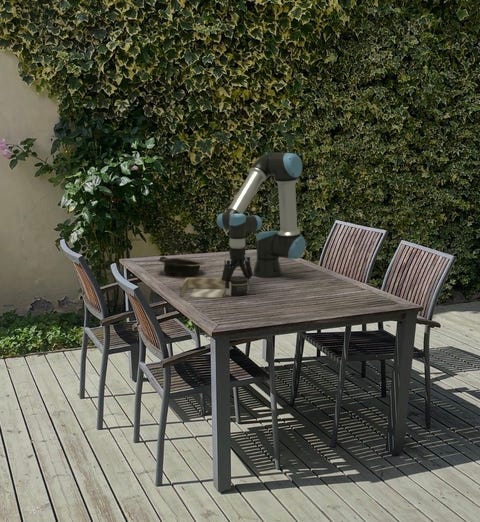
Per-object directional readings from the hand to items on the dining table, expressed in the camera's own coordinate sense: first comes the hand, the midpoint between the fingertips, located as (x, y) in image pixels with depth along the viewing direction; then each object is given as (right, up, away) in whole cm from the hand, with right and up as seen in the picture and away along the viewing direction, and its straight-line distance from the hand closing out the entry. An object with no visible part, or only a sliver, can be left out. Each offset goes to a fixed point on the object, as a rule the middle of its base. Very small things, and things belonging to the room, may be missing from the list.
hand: (237, 293), depth 351 cm
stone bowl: (-29, +8, +44) cm, 53 cm away
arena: (-14, 0, +2) cm, 15 cm away
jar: (0, 0, 0) cm, 0 cm away
